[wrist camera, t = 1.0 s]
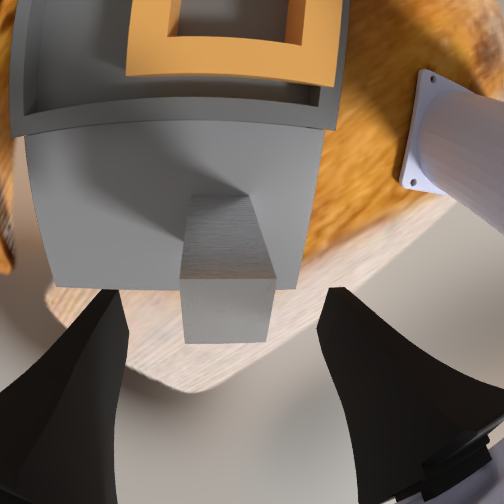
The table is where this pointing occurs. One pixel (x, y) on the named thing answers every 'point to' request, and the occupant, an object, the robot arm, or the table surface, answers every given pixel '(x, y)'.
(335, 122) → the grey rimmed tray
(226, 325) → the grey rectangular block
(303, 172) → the lid
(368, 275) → the table surface
